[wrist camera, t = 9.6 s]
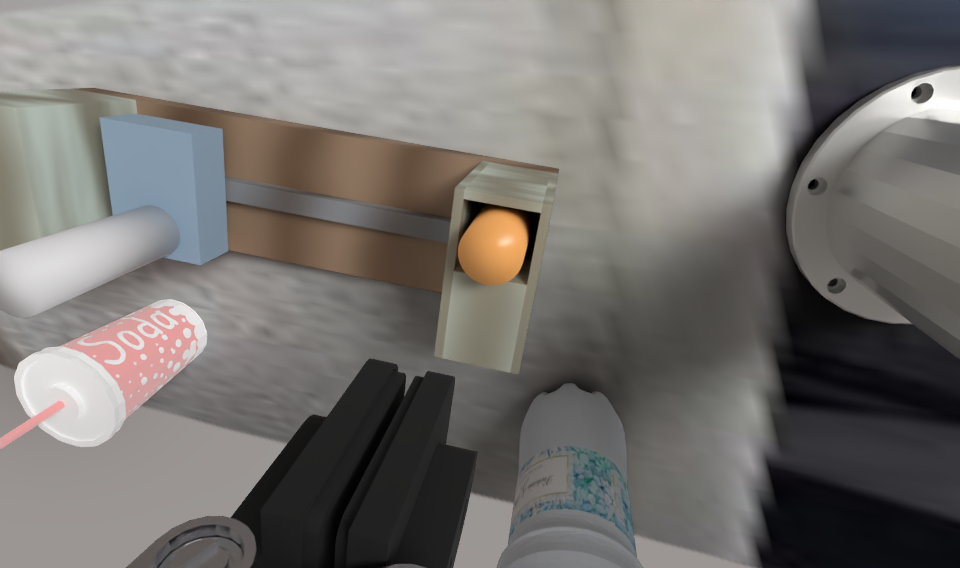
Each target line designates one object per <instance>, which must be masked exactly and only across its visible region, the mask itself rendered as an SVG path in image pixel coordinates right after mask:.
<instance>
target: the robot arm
mask: <svg viewBox="0 0 960 568" xmlns="http://www.w3.org/2000/svg"><path fill="white" fill-rule="evenodd" d="M914 88H915V89H916V94H915V95H914V96H913V97H912V98H911V93H912V91H913V89H914ZM813 179H814V180H815V184H814V185H813V186H812V187H811V188H808V184H809V183H810V181H811V180H813ZM786 233H787V237H788V242H789V247H790V251H791V254H792V256H793V258H794V260H795V262H796V264H797V266H798V268H799V270H800V272H801V273H802V274H803V275H804V277H805V278H806V279H807V280H808V282H809V283H810V284H811V285H812V286H813V287H814V288H815V289H816V290H817V291H818V292H819V293H820V294H821V295H822V296H823V297H825V298H826V299H827V300H829V301H830V302H832V303H834V304H835V305H837V306H838V307H840V308H841V309H843V310H845V311H847V312H850V313H852V314H855V315H857V316H860V317H863V318H865V319H869V320H874V321H879V322H885V323H890V324H914V325H915V326H916V327H918V328H919V329H920V330H922V331H923V332H924V333H926V334H927V335H928V336H930V337H931V338H932V339H934V340H935V341H936V342H938V343H939V344H940V345H942V346H943V347H944V348H945V349H947V350H948V351H949V352H951V353H952V354H953V355H955V356H956V357H957V358H959V359H960V66H946V67H941V68H936V69H932V70H927V71H923V72H918V73H915V74H912V75H910V76H907V77H904V78H902V79H899V80H897V81H894V82H892V83H889V84H887V85H885V86H883V87H881V88H880V89H878V90H876V91H874V92H873V93H871V94H869V95H868V96H866V97H864V98H862V99H861V100H859V101H858V102H857V103H855V104H854V105H853V106H852V107H850V108H849V109H848V110H847V111H845V112H844V113H843V114H842V115H840V116H839V117H838V118H837V119H836V120H835V121H834V122H833V123H832V124H831V125H830V126H829V127H828V128H827V129H826V130H825V131H824V133H823V134H822V135H821V136H820V137H819V138H818V139H817V140H816V142H815V143H814V145H813V146H812V148H811V149H810V151H809V152H808V154H807V155H806V157H805V158H804V160H803V161H802V163H801V165H800V168H799V170H798V172H797V175H796V177H795V179H794V182H793V184H792V186H791V191H790V195H789V200H788V204H787V209H786ZM833 279H834V280H833ZM831 280H833V281H832V282H831V283H829V282H830V281H831ZM828 283H829V284H828ZM405 383H406V374H405V373H400V372H398V366H397V364H393V363H389V362H384V361H379V360H375V359H369V360H368V361H367V362H366V363H365V365H364V366H363V367H362V369H361V370H360V372H359V373H358V374H357V376H356V377H355V379H354V380H353V381H352V383H351V384H350V386H349V387H348V388H347V390H346V391H345V393H344V394H343V395H342V397H341V398H340V400H339V401H338V402H337V404H336V405H335V407H334V408H333V409H332V411H331V412H330V414H329V415H328V416H327V417H322V416H318V415H312V416H310V417H309V418H308V419H307V420H306V421H305V422H304V423H303V424H302V426H301V427H300V428H299V430H298V431H297V432H296V433H295V435H294V436H293V437H292V439H291V440H290V441H289V443H288V444H287V445H286V446H285V448H284V449H283V450H282V452H281V453H280V454H279V456H278V457H277V458H276V459H275V461H274V462H273V463H272V465H271V466H270V467H269V469H268V470H267V471H266V472H265V474H264V475H263V476H262V478H261V479H260V480H259V482H258V483H257V484H256V485H255V487H254V488H253V489H252V491H251V492H250V493H249V495H248V496H247V497H246V498H245V500H244V501H243V502H242V504H241V505H240V506H239V508H238V509H237V510H236V511H235V513H234V514H233V516H232V517H231V518H229V517H224V516H207V517H202V518H198V519H194V520H190V521H187V522H185V523H183V524H181V525H179V526H176V527H174V528H172V529H171V530H169V531H168V532H167V533H165V534H164V535H162V536H161V537H160V538H158V539H157V540H156V541H155V542H154V543H153V544H152V545H150V546H149V547H148V548H147V549H146V550H145V551H144V552H143V553H142V554H140V555H139V556H138V557H137V558H136V559H135V560H134V561H133V562H132V563H131V564H129V565H128V566H127V567H126V568H453V566H454V561H455V557H456V553H457V549H458V545H459V541H460V536H461V533H462V528H463V525H464V520H465V516H466V511H467V507H468V502H469V497H470V492H471V487H472V482H473V476H474V470H475V465H476V459H477V452H475V451H471V450H466V449H462V448H457V447H453V446H449V445H446V439H447V432H448V426H449V419H450V412H451V405H452V398H453V391H454V384H455V377H453V376H449V375H444V374H440V373H435V372H430V371H428V372H427V373H426V374H425V376H424V378H423V377H419V376H415V378H414V379H413V381H412V383H411V385H410V387H409V389H408V391H407V393H406V395H405V397H404V393H405Z"/></svg>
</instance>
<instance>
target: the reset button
mask: <svg viewBox="0 0 960 568" xmlns="http://www.w3.org/2000/svg"><path fill="white" fill-rule="evenodd" d="M531 230H532V224H531V220H530V217H529V214H528V213H527V211H526V210H521V209H516V208H510V207H505V206H500V205H494V204H489V203H487V204H486V205H485V206H484V207H483V208H482V209H481V210H480V212H479V213H478V214H477V216H476V217H475V219H474V220H473V222H472V223H471V225H470V226H469V228H468V229H467V231H466V232H465V233H464V235H463V236H462V238H461V240H460V243H459V246H458V258H459V262H460V265H461V267H462V269H463V270H464V272H465V273H466V274H467V275H468V276H469V277H470V278H472V279H473V280H475V281H476V282H478V283H481V284H484V285H500V284H504V283H506V282H508V281H510V280H511V279H513V278H514V277H515V276H516V275H517V274H518V272H519V271H520V269H521V267H522V264H523V260H524V257H525V253H526V249H527V246H528V242H529V239H530V235H531Z"/></svg>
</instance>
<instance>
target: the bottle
mask: <svg viewBox="0 0 960 568" xmlns="http://www.w3.org/2000/svg"><path fill="white" fill-rule="evenodd" d="M497 568H643V567H642V565H641V564H640V562H639V561H638V559H637V556H636V547H635V540H634V531H633V523H632V515H631V507H630V500H629V492H628V484H627V454H626V439H625V433H624V429H623V425H622V423H621V421H620V418H619V417H618V415H617V414H616V412H615V410H614V409H613V407H612V405H611V403H610V402H609V400H608V399H607V398H606V396H605V395H603V394H602V393H600V392H598V391H595V392H592V393H589V392H586V391H582V390H581V389H579V388H578V387H577V386H576V385H575V384H573V383H568V384H564V385H562V386H561V387H560V388H559V389H558V390H556V391H554V392H552V393H549V394H548V393H546V392H543V393H541V394H539V395H538V396H537V397H536V398H535V399H534V400H533V402H532V403H531V405H530V407H529V409H528V412H527V414H526V416H525V418H524V421H523V424H522V428H521V434H520V446H519V474H518V479H517V485H516V492H515V499H514V507H513V513H512V520H511V527H510V534H509V542H508V546H507V548H506V549H505V550H504V552H503V553H502V555H501V557H500V559H499V562H498V565H497Z"/></svg>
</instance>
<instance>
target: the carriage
mask: <svg viewBox="0 0 960 568" xmlns="http://www.w3.org/2000/svg"><path fill="white" fill-rule="evenodd" d="M99 118H100V125H101V133H102V140H103V147H104V155H105V162H106V169H107V177H108V184H109V192H110V199H111V206H112V214H113V216H110V217H106V218H103V219H100V220H97V221H94V222H90V223H87V224H84V225H81V226H78V227H74V228H71V229H68V230H65V231H62V232H58V233H55V234H52V235H49V236H46V237H42V238H39V239H36V240H33V241H30V242H26V243H23V244H20V245H17V246H14V247H10V248H7V249H4V250H1V251H0V309H1V310H3V311H4V312H6V313H8V314H10V315H12V316H15V317H19V318H29V317H32V316H34V315H37V314H39V313H41V312H43V311H45V310H48V309H50V308H52V307H54V306H57V305H59V304H61V303H63V302H65V301H68V300H70V299H72V298H74V297H76V296H79V295H81V294H83V293H85V292H87V291H90V290H92V289H94V288H96V287H99V286H101V285H103V284H105V283H107V282H110V281H112V280H114V279H116V278H118V277H121V276H123V275H125V274H127V273H129V272H132V271H134V270H136V269H138V268H141V267H143V266H145V265H147V264H149V263H152V262H154V261H156V260H158V259H160V258H167V259H172V260H177V261H182V262H187V263H192V264H197V265H203V264H204V263H206V262H208V261H210V260H212V259H214V258H216V257H218V256H220V255H222V254H224V253H226V252H228V232H227V212H226V191H225V170H224V149H223V129H221V128H215V127H209V126H204V125H198V124H192V123H187V122H181V121H176V120H170V119H164V118H159V117H153V116H147V115H142V114H129V115H119V116H109V117H99Z"/></svg>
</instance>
